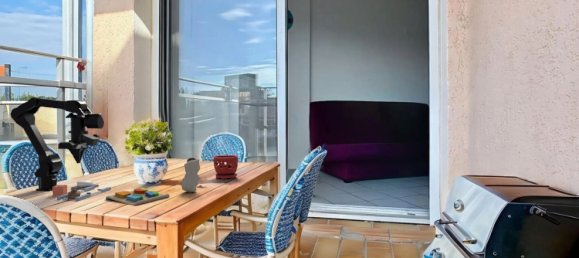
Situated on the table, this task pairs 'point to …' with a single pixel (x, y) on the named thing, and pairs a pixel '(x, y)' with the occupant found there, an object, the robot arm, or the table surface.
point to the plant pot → (226, 166)
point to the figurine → (191, 175)
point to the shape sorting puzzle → (137, 196)
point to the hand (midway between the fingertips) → (78, 163)
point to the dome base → (83, 187)
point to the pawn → (73, 194)
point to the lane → (86, 194)
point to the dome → (85, 183)
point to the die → (59, 190)
